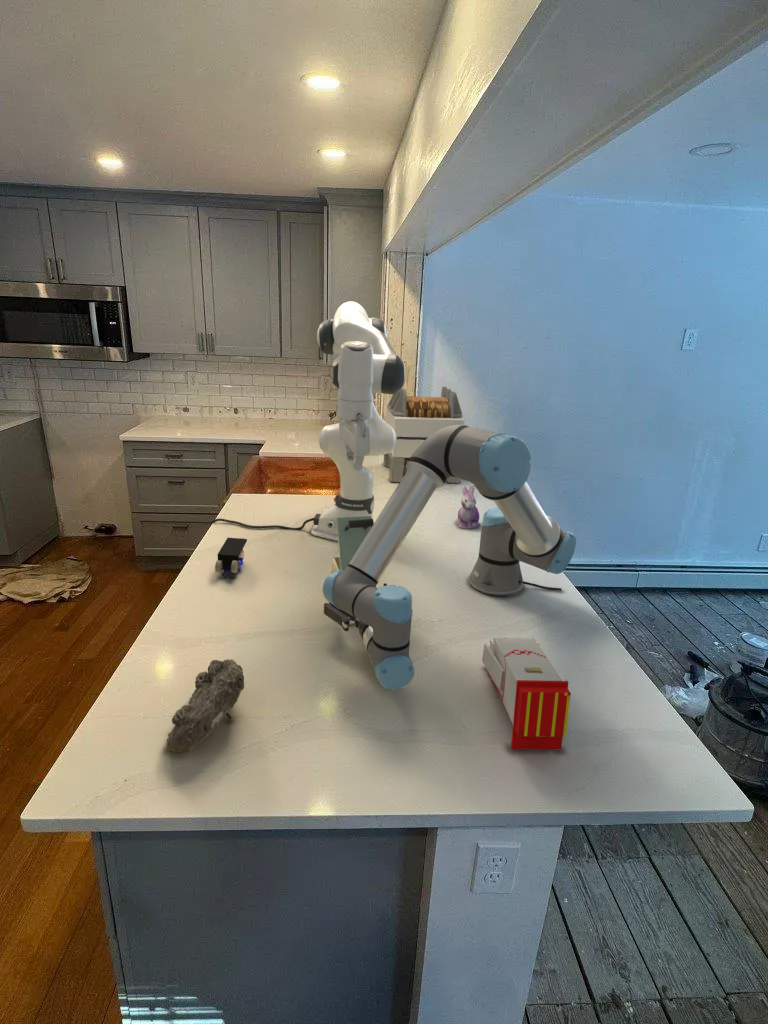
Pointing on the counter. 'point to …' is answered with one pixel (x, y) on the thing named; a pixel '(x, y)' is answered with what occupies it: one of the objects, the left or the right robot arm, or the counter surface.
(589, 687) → the counter surface
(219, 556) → the figurine character
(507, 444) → the right robot arm
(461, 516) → the figurine
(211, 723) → the fossil
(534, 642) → the toy
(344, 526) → the lid
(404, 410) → the transformer
